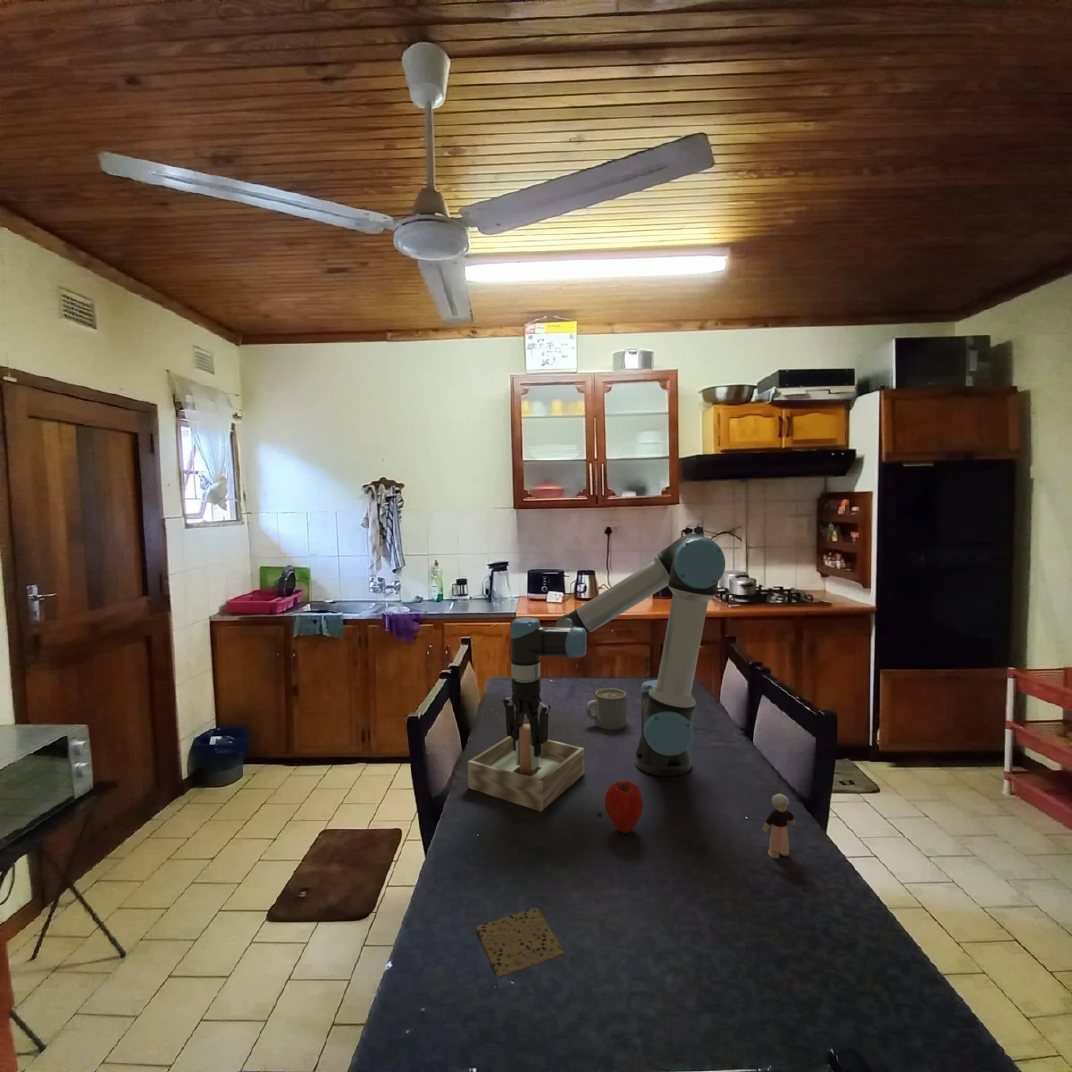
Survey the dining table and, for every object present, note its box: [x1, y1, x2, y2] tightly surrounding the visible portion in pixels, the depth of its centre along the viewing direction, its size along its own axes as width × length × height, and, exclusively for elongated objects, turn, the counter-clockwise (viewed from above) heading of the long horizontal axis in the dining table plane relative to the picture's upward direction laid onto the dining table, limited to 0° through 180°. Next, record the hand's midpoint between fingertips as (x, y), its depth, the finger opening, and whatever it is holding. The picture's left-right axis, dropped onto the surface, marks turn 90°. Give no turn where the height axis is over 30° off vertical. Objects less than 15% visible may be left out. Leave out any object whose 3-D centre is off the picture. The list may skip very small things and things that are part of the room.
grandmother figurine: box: [762, 793, 797, 860], centre depth 121 cm, size 8×4×13 cm, turn 117°
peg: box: [519, 723, 535, 777], centre depth 153 cm, size 4×4×14 cm
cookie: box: [475, 907, 566, 979], centre depth 99 cm, size 12×12×1 cm
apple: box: [604, 781, 644, 834], centre depth 130 cm, size 9×8×11 cm
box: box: [467, 736, 585, 812], centre depth 154 cm, size 22×22×7 cm
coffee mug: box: [585, 687, 627, 730], centre depth 191 cm, size 13×10×10 cm
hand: (527, 765), depth 154 cm, fingers closed on peg, 4 cm apart
